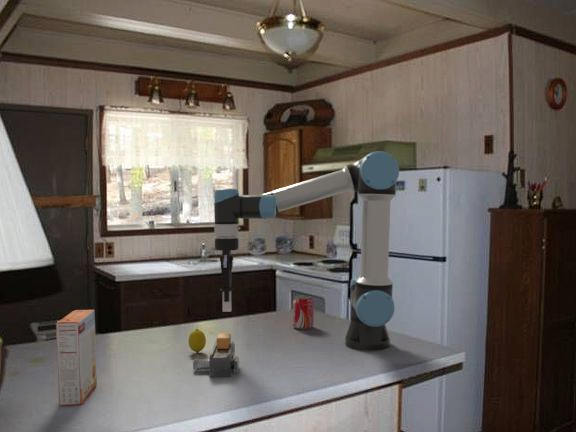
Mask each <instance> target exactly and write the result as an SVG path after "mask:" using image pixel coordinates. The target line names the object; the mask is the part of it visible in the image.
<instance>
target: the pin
mask: <svg viewBox="0 0 576 432" xmlns="http://www.w3.org/2000/svg"><path fill="white" fill-rule="evenodd" d="M192 369H193V371H206V370H207V371H209V358H208V359H207V358H204V359H203V358H202V359H199V358H198V359H196V358H195V359H193V363H192ZM239 369H240V355H239V354H238V355H236V354H235V359H232V370H233V373H234V374H237V373H239Z"/></svg>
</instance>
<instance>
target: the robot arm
mask: <svg viewBox="0 0 576 432" xmlns="http://www.w3.org/2000/svg"><path fill="white" fill-rule="evenodd" d="M399 175H400V166H399V164H398V161H397V159H396V158H395V157H394V156H393V155H392V154H390V153H389V152H387V151H386V152H385V151H381V150H378V151H377V150H376V151H371V152H369V153H367V154H366V155H365V156H364V157H362V158H360V159H359V160H357V161H355V162H352V163H349V164H346V165H345V166H344V167H343V168H342V169H340V170H337V171H333V172H331V173H330V172H329V173H327V174H323V175H320V176H317V177H314V178H311V179H307V180H304V181H301V182H298V183H294V184H291V185H287V186H285V187H280V188H278V189H275V190H272V191H268V192H265V193H262V194H240V193H239V190H238V188H218V189H216V190H215V192H214V203H213V204H214V207H213V208H214V209H213V210H214V237H215V239H214V250H216V251H221V252H222V253H221V255H219V262H220V270H221V272H220V273H221V288H220V292H222V293H221V294H222V312H224V313H225V312H226V313H227V312H230V313H231V312H232V291H234V287H233V285H232V284H233V283H232V280H233V278H232V276H233V273H232V272H233V271H232V270H233V267H234V265H233V263H234V262H233V261H234V255H233V254H232V251H236V250H238V249H239V246H240V245H239V238H238V236H239V231H240V230H241V227H240V226H239V219H250V220H251V219H255V220H256V219H257V220H258V219H259V220H260V219H262V220H268V219H274V218H276V217H277V213H280V212H282V211H287V210H290V209H293V208H297V207H300V206H303V205H306V204H310V203H314V202H318V201H320V200H324V199H327V198H330V197H333V196H337V195H339V194H344V193H348V192H351V193H353V194H354V193H356V192H357V194H358V196H359V197H360V198H361V200H362V212H361V213H362V214H361V215H362V216H361V217H362V218H361V219H362V221H361V245H360V246H361V247H360V249H361V251H360V275H359V276H358V277H354V278H351V280H350V285H349V288H350V323H349V326H348V328H347V331H346V335H345V342H344V344H345V345H346V347H348V348H351V349H355V350H360V351H380V350H381V351H383V350H385V349H388V348H390V346H391V339H390V336H389V332H388V328H387V326H386V324H387V323H389V322H390V321H391V319H392V318H393V316H394V313H395V302H394V299H393V283H394V282H393V281H392V280H391V279H390V278H389V260H390V259H389V258H390V257H389V256H390V254H389V253H390V230H391V229H390V225H391V224H390V223H391V201H392V199H394V198H395V197H396V193H397V181H398V178H399Z"/></svg>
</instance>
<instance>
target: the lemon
mask: <svg viewBox="0 0 576 432" xmlns="http://www.w3.org/2000/svg"><path fill="white" fill-rule="evenodd" d="M206 341H207V339H206V335H205V333H204V332H203V330H201V329H199V328H195V329H193V330H192V331H191V332H190V333H189V337H188V347H189V348H190V349H191V350H192V351H193V352H194V353H196V354H198V353H200V351H203V350H204V349H205V347H206V343H207V342H206Z"/></svg>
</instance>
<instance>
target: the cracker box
mask: <svg viewBox="0 0 576 432" xmlns="http://www.w3.org/2000/svg"><path fill="white" fill-rule="evenodd" d="M95 316H96V315H95V309H75V310H73V311H71V312H70V313H68V314H67V315H65V316H64V317H63V318H61V319H60V320H59V321H57V322H56V323H55V333H56V335H55V336H56V359H57V360H56V361H57V363H56V364H57V388H58V390H57V391H58V406H59V407H60V406H61V407H63V406H78V405H79V406H81V405H83V404H84V402H85V401H86V400H87V398H88V397H89V396H90V394H91V393H92V391H93V390H94V389H95V388H96V386H97V384H98V381H97V377H98V376H97V353H96V352H97V351H96V350H97V349H96V348H97V346H96V320H95V319H96V318H95Z"/></svg>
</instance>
